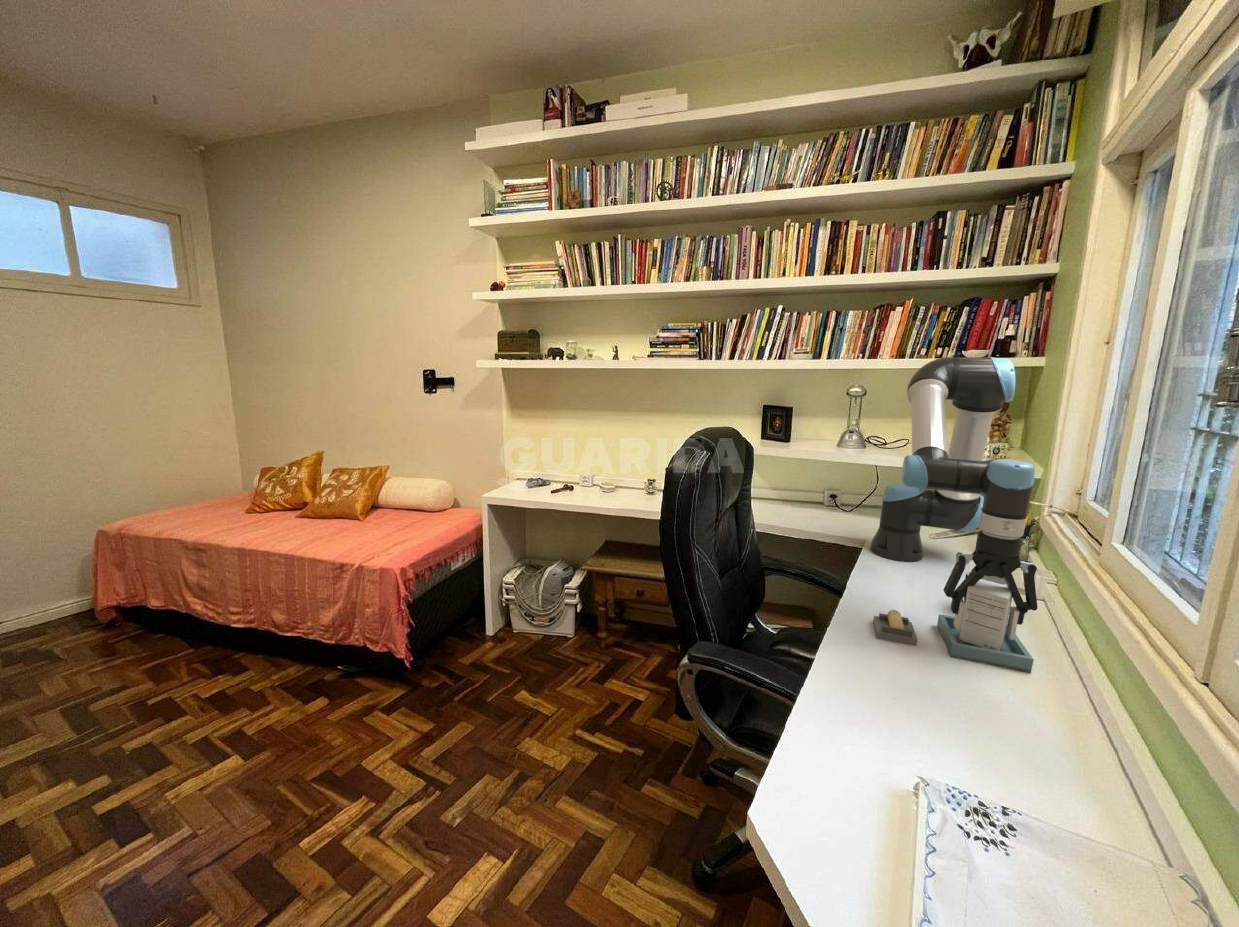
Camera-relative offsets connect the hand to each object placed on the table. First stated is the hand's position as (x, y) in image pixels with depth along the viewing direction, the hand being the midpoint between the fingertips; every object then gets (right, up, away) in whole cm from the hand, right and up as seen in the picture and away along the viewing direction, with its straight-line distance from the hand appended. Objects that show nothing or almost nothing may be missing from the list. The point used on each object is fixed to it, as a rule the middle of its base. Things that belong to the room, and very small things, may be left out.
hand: (982, 631), depth 110 cm
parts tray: (0, -4, +1) cm, 4 cm away
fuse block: (-16, -2, +6) cm, 17 cm away
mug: (+12, -1, +16) cm, 20 cm away
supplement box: (0, -2, 0) cm, 2 cm away
